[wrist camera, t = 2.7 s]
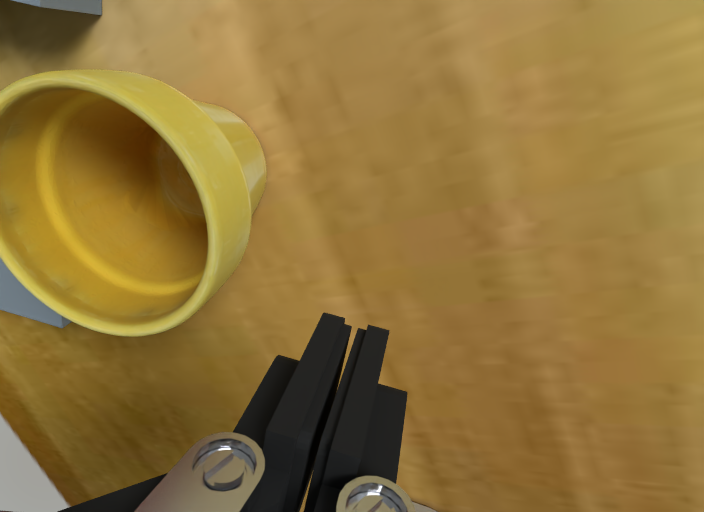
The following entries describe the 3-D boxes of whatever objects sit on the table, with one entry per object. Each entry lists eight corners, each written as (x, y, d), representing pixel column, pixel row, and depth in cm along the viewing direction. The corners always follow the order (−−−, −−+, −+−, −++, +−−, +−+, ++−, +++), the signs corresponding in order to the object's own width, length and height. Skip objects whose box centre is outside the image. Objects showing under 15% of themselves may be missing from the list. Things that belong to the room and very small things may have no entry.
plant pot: (160, 261, 29) (33, 347, 20) (99, 88, 26) (-86, 100, 17) (317, 243, 27) (251, 332, 18) (274, 48, 23) (164, 39, 14)
